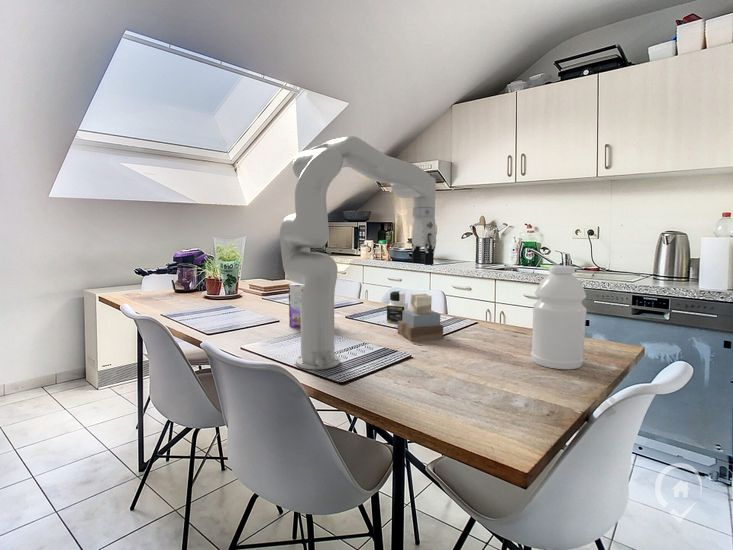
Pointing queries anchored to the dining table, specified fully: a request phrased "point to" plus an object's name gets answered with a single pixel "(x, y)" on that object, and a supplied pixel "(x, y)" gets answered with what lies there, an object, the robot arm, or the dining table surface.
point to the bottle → (559, 320)
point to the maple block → (420, 303)
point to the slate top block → (421, 319)
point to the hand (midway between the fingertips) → (422, 263)
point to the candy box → (295, 304)
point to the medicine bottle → (396, 306)
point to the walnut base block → (420, 332)
